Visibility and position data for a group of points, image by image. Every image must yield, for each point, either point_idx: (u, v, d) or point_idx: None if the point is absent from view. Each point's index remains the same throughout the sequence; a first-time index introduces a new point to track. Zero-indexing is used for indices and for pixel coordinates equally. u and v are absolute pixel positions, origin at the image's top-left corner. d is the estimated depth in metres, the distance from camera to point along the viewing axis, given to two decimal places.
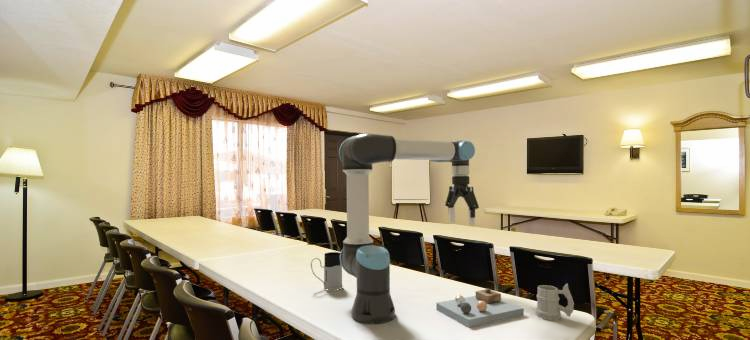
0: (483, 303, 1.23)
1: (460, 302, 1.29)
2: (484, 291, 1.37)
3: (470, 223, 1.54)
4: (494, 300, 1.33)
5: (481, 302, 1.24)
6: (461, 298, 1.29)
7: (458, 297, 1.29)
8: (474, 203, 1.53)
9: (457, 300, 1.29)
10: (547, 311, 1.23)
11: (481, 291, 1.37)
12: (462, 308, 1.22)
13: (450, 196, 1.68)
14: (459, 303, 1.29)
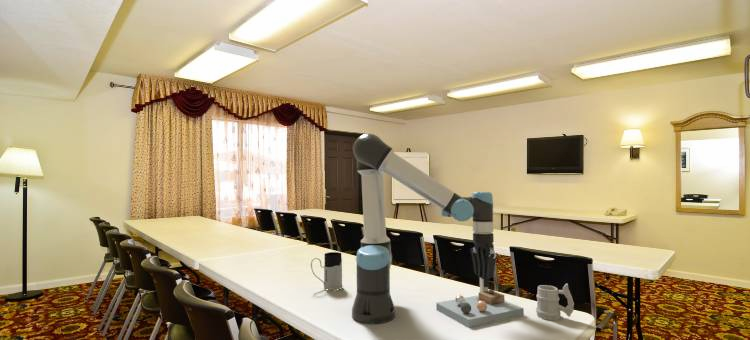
0: (483, 303, 1.23)
1: (460, 302, 1.29)
2: (487, 292, 1.35)
3: None
4: (497, 301, 1.31)
5: (481, 302, 1.24)
6: (461, 298, 1.29)
7: (458, 297, 1.29)
8: (490, 273, 1.34)
9: (457, 300, 1.29)
10: (547, 311, 1.23)
11: (484, 292, 1.35)
12: (462, 308, 1.22)
13: (475, 260, 1.41)
14: (459, 303, 1.29)
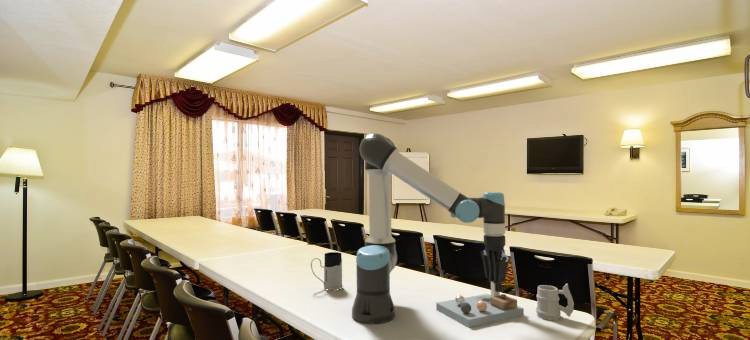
0: (483, 303, 1.23)
1: (460, 302, 1.29)
2: (499, 297, 1.30)
3: None
4: (510, 307, 1.26)
5: (481, 302, 1.24)
6: (461, 298, 1.29)
7: (458, 297, 1.29)
8: (502, 277, 1.29)
9: (457, 300, 1.29)
10: (547, 311, 1.23)
11: (496, 297, 1.30)
12: (462, 308, 1.22)
13: (486, 263, 1.36)
14: (459, 303, 1.29)
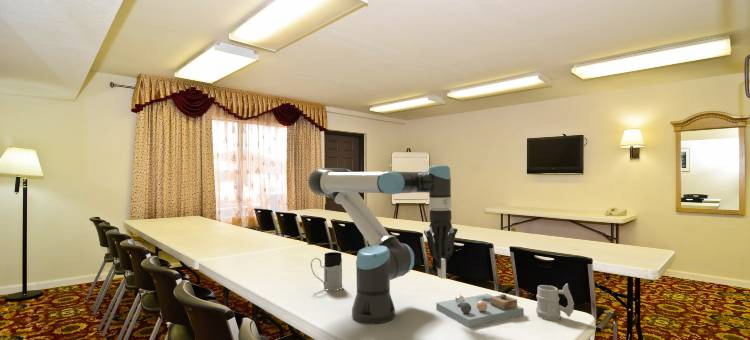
0: (483, 303, 1.23)
1: (460, 302, 1.29)
2: (499, 297, 1.30)
3: (438, 274, 1.27)
4: (510, 307, 1.26)
5: (481, 302, 1.24)
6: (461, 298, 1.29)
7: (458, 297, 1.29)
8: (430, 252, 1.26)
9: (457, 300, 1.29)
10: (547, 311, 1.23)
11: (496, 297, 1.30)
12: (462, 308, 1.22)
13: (448, 240, 1.29)
14: (459, 303, 1.29)
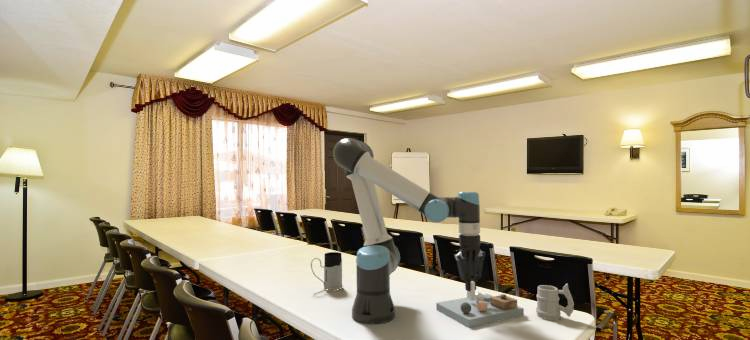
0: (483, 303, 1.23)
1: (481, 300, 1.32)
2: (499, 297, 1.30)
3: (468, 296, 1.32)
4: (510, 307, 1.26)
5: (481, 302, 1.24)
6: (478, 299, 1.32)
7: (476, 300, 1.32)
8: (460, 275, 1.31)
9: None
10: (547, 311, 1.23)
11: (496, 297, 1.30)
12: (462, 308, 1.22)
13: (477, 263, 1.34)
14: None
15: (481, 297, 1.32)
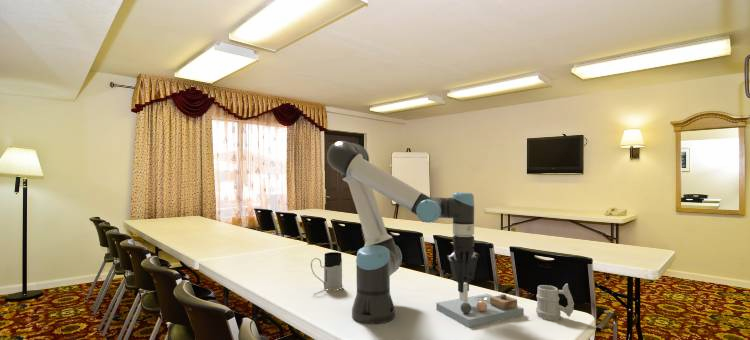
0: (483, 303, 1.23)
1: (487, 299, 1.35)
2: (499, 297, 1.30)
3: (460, 298, 1.32)
4: (510, 307, 1.26)
5: (481, 302, 1.24)
6: None
7: None
8: (453, 276, 1.30)
9: (486, 297, 1.36)
10: (547, 311, 1.23)
11: (496, 297, 1.30)
12: (462, 308, 1.22)
13: (470, 264, 1.34)
14: (486, 299, 1.35)
15: None
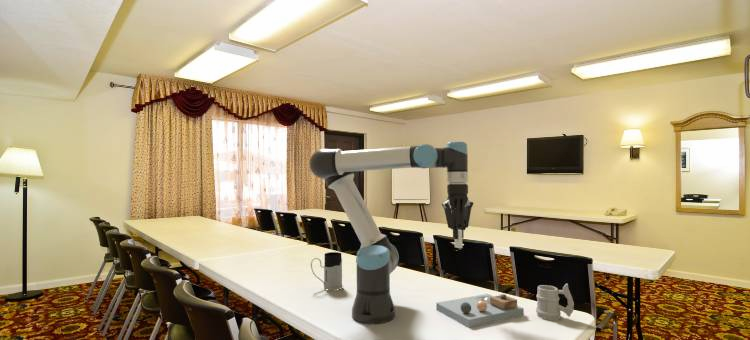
0: (483, 303, 1.23)
1: (488, 299, 1.35)
2: (499, 297, 1.30)
3: (455, 245, 1.35)
4: (510, 307, 1.26)
5: (481, 302, 1.24)
6: None
7: None
8: (448, 223, 1.33)
9: (487, 297, 1.36)
10: (547, 311, 1.23)
11: (496, 297, 1.30)
12: (462, 308, 1.22)
13: (464, 213, 1.37)
14: (486, 299, 1.35)
15: None
